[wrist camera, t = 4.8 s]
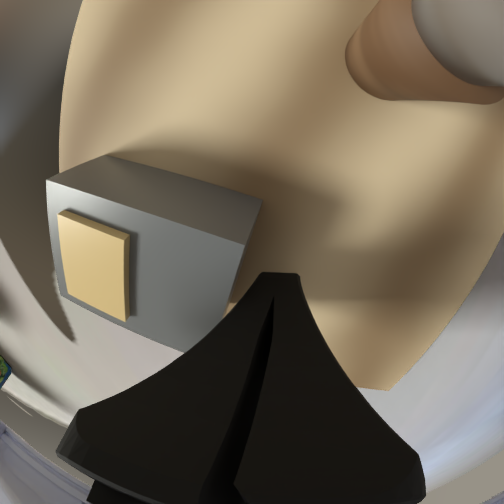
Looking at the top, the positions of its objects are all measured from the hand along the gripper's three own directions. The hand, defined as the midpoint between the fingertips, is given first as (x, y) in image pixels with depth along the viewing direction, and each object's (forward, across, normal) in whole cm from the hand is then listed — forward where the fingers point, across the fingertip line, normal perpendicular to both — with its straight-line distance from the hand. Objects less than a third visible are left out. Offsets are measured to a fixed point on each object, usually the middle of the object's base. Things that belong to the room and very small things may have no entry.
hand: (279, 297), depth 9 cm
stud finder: (+1, +4, -2) cm, 5 cm away
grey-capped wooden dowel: (+1, -3, -7) cm, 8 cm away
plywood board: (+2, 0, -3) cm, 3 cm away
